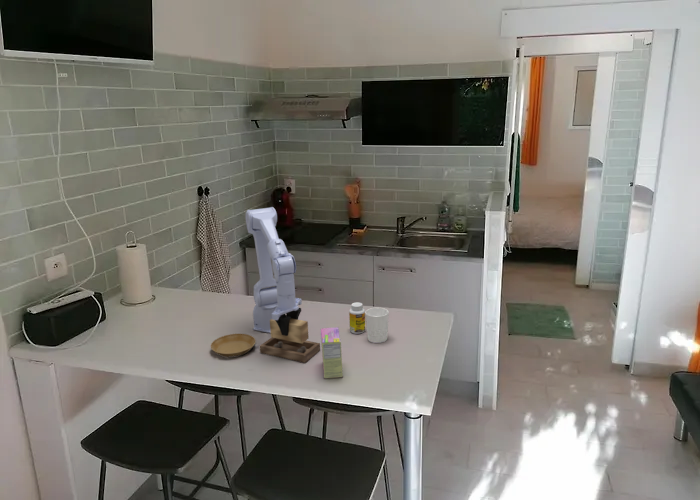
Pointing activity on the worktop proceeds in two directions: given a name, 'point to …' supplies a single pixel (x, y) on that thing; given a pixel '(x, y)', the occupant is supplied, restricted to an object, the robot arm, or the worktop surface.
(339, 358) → the box
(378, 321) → the white cup
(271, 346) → the walnut peg frame
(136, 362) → the worktop surface
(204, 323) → the worktop surface
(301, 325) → the wooden block
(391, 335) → the worktop surface
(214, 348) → the plant saucer
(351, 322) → the supplement bottle
